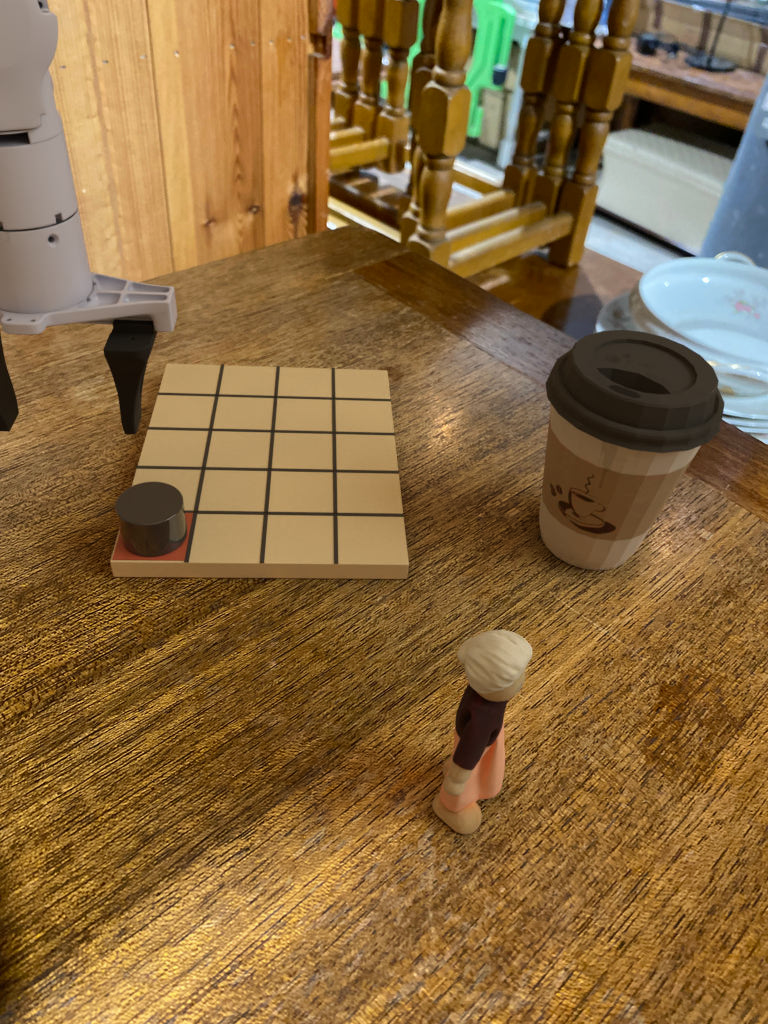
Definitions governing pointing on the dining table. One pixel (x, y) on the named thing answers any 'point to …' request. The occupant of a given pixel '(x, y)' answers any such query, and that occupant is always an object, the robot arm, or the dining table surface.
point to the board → (275, 474)
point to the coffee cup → (620, 441)
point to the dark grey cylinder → (151, 519)
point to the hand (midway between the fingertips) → (71, 423)
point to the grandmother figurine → (481, 726)
